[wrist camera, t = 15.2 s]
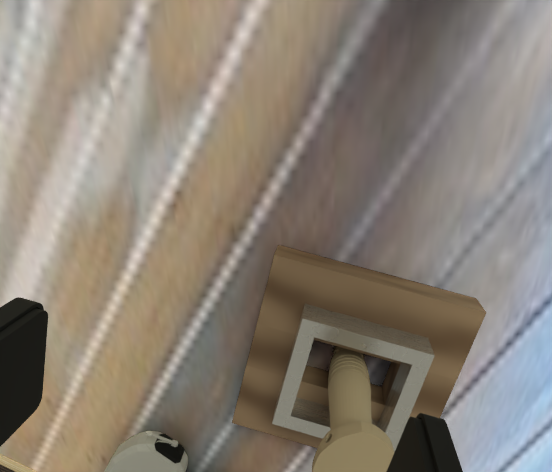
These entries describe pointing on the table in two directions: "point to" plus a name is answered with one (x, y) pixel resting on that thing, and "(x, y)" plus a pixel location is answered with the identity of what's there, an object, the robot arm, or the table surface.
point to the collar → (366, 338)
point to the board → (356, 303)
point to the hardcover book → (12, 465)
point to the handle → (351, 421)
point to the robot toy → (149, 454)
